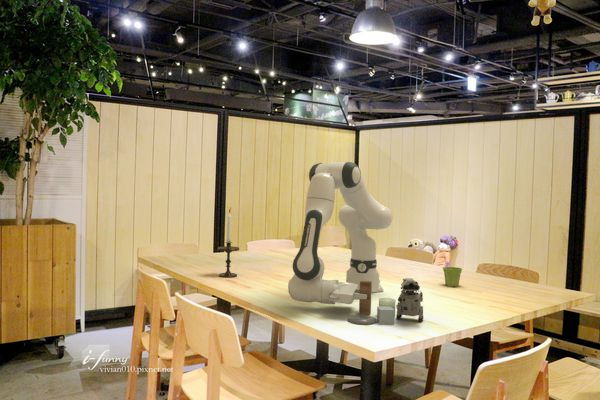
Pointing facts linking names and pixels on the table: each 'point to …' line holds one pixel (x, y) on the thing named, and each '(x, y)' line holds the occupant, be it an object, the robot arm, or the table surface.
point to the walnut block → (365, 303)
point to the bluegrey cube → (385, 315)
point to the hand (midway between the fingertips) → (367, 294)
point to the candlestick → (228, 250)
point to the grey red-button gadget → (410, 300)
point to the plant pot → (452, 276)
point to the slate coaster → (362, 319)
